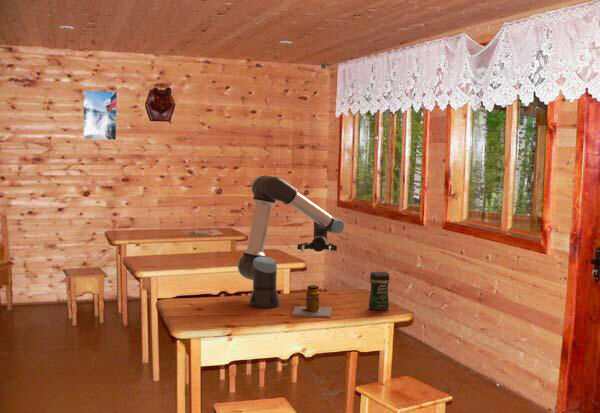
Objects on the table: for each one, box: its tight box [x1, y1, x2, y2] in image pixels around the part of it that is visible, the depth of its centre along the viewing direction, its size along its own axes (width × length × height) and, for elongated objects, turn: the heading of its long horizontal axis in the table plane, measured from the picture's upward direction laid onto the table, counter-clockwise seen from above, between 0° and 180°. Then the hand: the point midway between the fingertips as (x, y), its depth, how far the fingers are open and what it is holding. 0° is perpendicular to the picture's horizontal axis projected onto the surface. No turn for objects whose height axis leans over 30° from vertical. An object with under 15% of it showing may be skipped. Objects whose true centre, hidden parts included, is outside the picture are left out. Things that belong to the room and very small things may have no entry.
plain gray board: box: [291, 305, 333, 319], centre depth 312 cm, size 18×16×1 cm
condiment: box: [299, 284, 321, 313], centre depth 311 cm, size 7×8×12 cm
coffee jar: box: [368, 271, 391, 311], centre depth 321 cm, size 10×8×19 cm
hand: (315, 249), depth 326 cm, fingers open, 13 cm apart
